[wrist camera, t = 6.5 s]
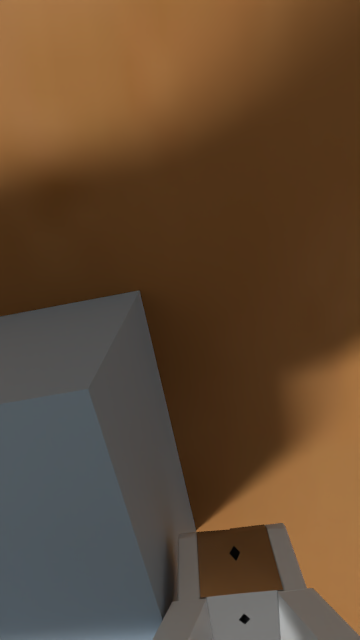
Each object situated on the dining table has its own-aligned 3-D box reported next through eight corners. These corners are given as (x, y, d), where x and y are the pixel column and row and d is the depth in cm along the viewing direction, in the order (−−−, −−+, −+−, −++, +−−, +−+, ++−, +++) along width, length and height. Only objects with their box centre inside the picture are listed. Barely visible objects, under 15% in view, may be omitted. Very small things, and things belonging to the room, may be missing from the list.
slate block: (-113, 336, 12) (-462, 482, 6) (140, 289, 12) (88, 389, 5) (0, 554, 16) (-127, 796, 9) (196, 526, 15) (208, 763, 9)
